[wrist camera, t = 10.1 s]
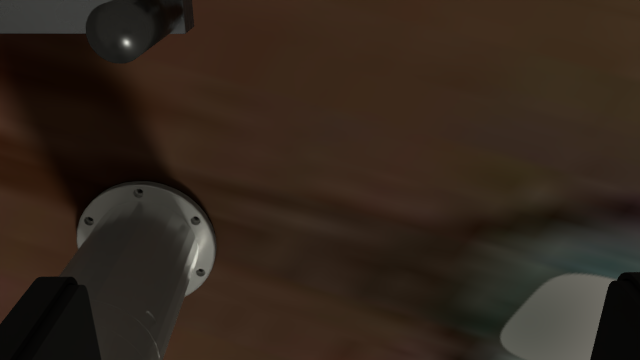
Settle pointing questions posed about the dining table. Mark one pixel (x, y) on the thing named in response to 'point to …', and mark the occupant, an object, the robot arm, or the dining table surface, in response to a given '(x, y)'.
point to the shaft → (101, 22)
